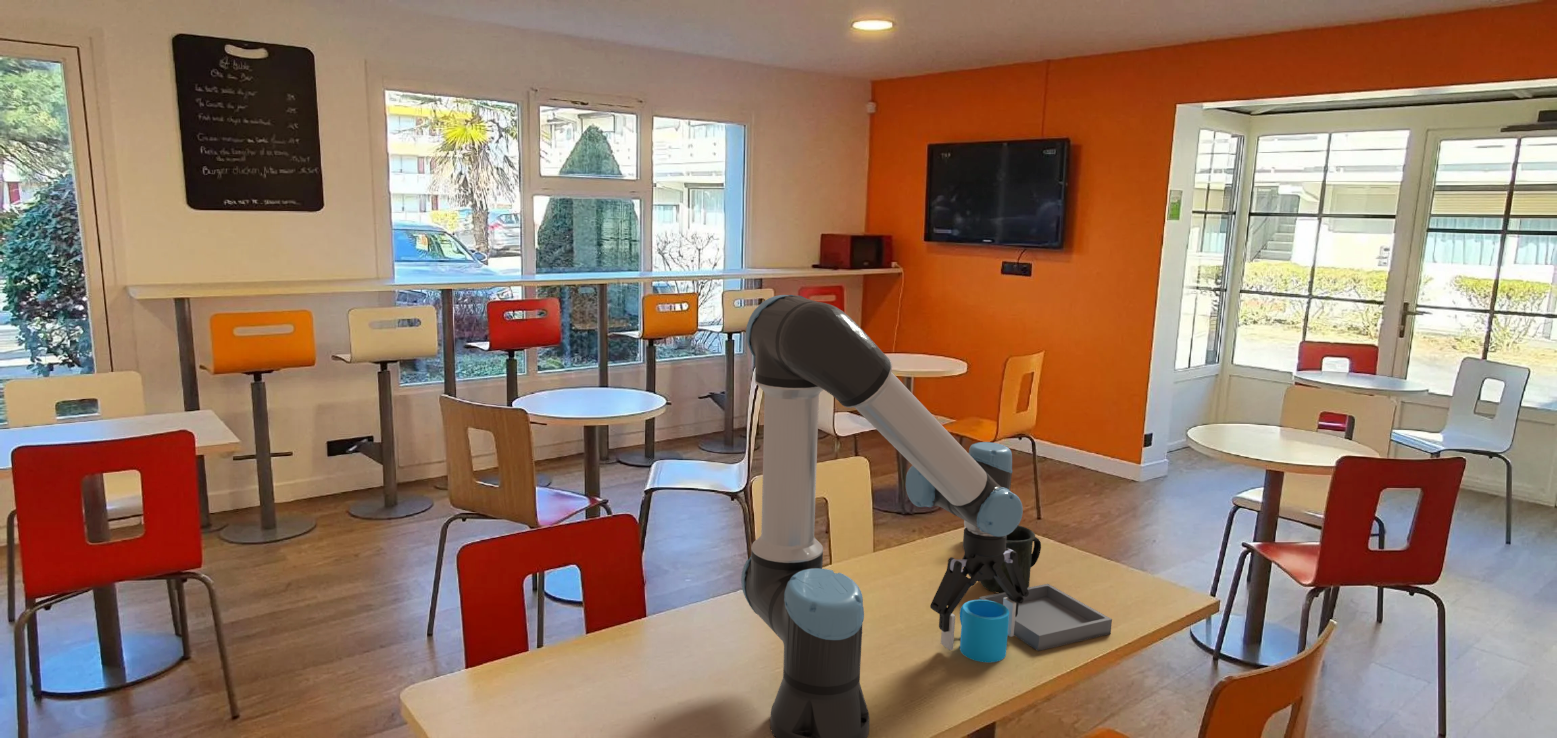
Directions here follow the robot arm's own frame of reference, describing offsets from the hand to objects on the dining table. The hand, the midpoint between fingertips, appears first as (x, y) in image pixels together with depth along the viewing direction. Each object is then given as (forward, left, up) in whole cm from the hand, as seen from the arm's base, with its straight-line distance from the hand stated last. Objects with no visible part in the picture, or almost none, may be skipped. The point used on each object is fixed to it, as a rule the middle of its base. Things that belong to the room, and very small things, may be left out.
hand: (977, 640), depth 168 cm
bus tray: (+18, +3, -1) cm, 18 cm away
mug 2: (+24, +20, -2) cm, 31 cm away
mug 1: (0, 0, -2) cm, 2 cm away
